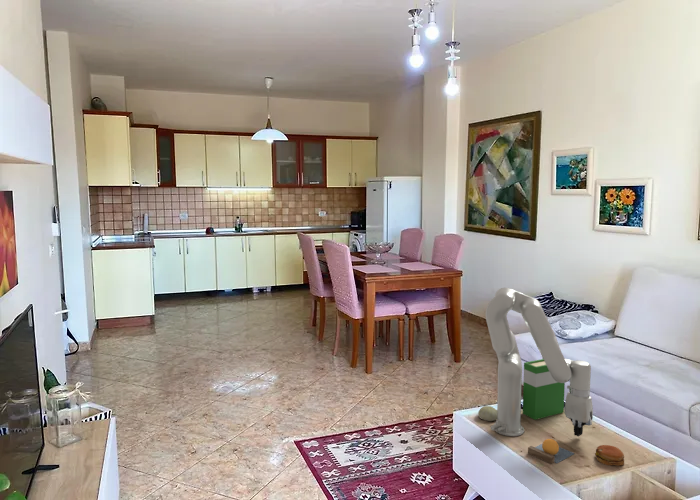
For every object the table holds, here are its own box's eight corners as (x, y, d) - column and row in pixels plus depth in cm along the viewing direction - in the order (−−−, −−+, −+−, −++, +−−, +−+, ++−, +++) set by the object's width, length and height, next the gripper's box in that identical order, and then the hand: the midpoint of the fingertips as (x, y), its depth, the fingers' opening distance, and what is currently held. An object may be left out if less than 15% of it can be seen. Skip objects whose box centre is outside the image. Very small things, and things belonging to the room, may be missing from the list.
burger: (629, 464, 190) (630, 452, 189) (610, 469, 186) (611, 457, 186) (608, 452, 199) (608, 440, 198) (589, 456, 196) (589, 444, 195)
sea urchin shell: (496, 409, 235) (499, 402, 229) (498, 426, 230) (501, 419, 224) (476, 408, 236) (478, 401, 230) (478, 425, 231) (480, 418, 225)
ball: (560, 456, 197) (552, 459, 193) (546, 449, 201) (538, 452, 197) (563, 441, 196) (555, 444, 192) (548, 434, 201) (540, 437, 197)
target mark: (556, 463, 190) (556, 463, 190) (528, 450, 200) (528, 450, 200) (574, 453, 197) (574, 453, 197) (546, 442, 207) (546, 441, 207)
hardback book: (551, 406, 242) (552, 357, 239) (563, 412, 235) (565, 361, 233) (522, 413, 234) (524, 362, 232) (534, 419, 228) (536, 367, 225)
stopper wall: (551, 464, 190) (551, 457, 190) (527, 453, 198) (528, 447, 198) (554, 462, 191) (554, 456, 191) (530, 451, 199) (531, 445, 199)
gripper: (557, 388, 212) (556, 430, 213) (592, 399, 200) (590, 444, 201) (567, 384, 216) (566, 426, 218) (602, 395, 204) (600, 439, 206)
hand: (578, 434), depth 210 cm, fingers closed
